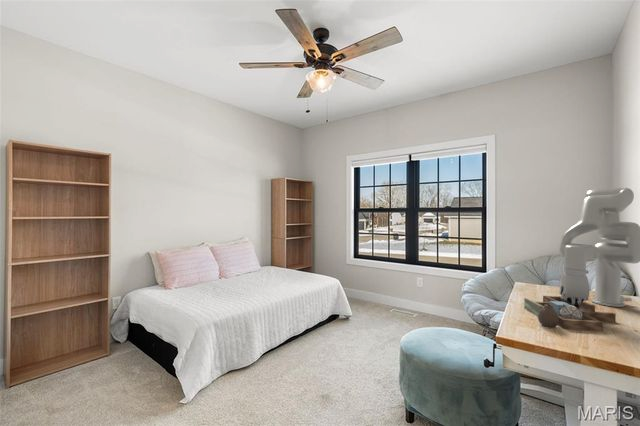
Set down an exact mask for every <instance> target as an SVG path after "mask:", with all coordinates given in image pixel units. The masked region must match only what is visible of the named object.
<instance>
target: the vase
mask: <svg viewBox="0 0 640 426" xmlns="http://www.w3.org/2000/svg"><path fill="white" fill-rule="evenodd" d="M537 319H538V322H539V324H540V325H541V326H543V327H545V328H547V329H548V328H549V329H553V328H556V327H557V326H558V323H559V316H558V313H557V312H556V311H555V309H554V308H553V306H552V305H550V304H545V305H544V306H543V307H542V308H541V309H540V310H539V312H538V316H537Z"/></svg>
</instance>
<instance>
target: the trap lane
mask: <svg viewBox="0 0 640 426" xmlns="http://www.w3.org/2000/svg"><path fill="white" fill-rule="evenodd" d="M550 301H558V302H565V303H568V304H570V303H569V302H568V301H567V300H564V299H562V298H561V295H560V296H559V295H542V301H534V300H532V299H530V298H528V297H524V307H523V308H524V309H525V310H526V311H528V312H530V313H532V314H533V315H535V316H536V317H538V312H539V310H540V309H541V308H542V307H543V306H544V305H545V304H549V303H550ZM579 307H580V308H579V310H580V311H581V312H584V314H583V313H582V319H584V320H575V319H564V318H563V317H561V316H559V315H558V316H559V323H558V325H557V326H558V327H560V328H561V329H563V330H578V331H591V332H592V331H594V332H595V331H597V332H604V322H609V323H610V322H611V323H616V321H617V320H616V319H617V318H616V315H617V314H616V312H615V313H614V312H607V311H596V304H592V303H589V302H587V301H583V302H582V303H581V305H579Z"/></svg>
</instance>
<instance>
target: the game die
mask: <svg viewBox="0 0 640 426" xmlns="http://www.w3.org/2000/svg"><path fill="white" fill-rule="evenodd" d="M563 306H564V307H563V308H561V309H560V308H559V309H560V315H559V316H561V317H563V318H564V319H575V320H584V319H582V313H583V314H584V312H581V311H580V310H579V309H578V308H580V307H578V308H577V307H575V306H573V305H572V303H571V305H567V306H565V305H564V304H563Z"/></svg>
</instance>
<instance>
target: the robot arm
mask: <svg viewBox="0 0 640 426" xmlns="http://www.w3.org/2000/svg"><path fill="white" fill-rule="evenodd" d="M634 197H635V194H634V191H633V190H632V189H631V188H629V187H614V188H613V187H612V188H611V187H610V188H593V189H590V190H587V192H586V193H585V198H584V199H583V201H582V204H581V208H580V212H579V216H578V221H577V222H576V224H574V225H572V226H571V227H569V228H568V229H567V230H566V231H565V233H564V234H563V235H562V236H561V240H560V244H559V249H558V250H559V251H558V252H559V255H560V256H561V257H562V258H563V259H564V260H563V261H564V263H563V266H564V267H563V270H564V271H563V274H561V277H560V281H559V287H558V288H559V289H558V293H559V295H560V296H561V298H562V299H564V300H567V301H568V302H569V303H570V305H571V303H572V305H573V306H575V307H577V308H578V307H579V305H581V303H582V302H583V301H584V302H587V301H589V300H590V301H591V302H592V303H595V304H597V305H600V306H607V307H614V308H615V307H616V308H622V307H623V308H624V307H625V306H626V304H625V302H630V303H631V302H632V300H633V299H632V297H625V296H622V294H621V293H622V291H621V290H622V287H621V286H622V285H621V284H622V271H621V268H620V266H619V265H617V263H623V264H635V265H636V264H638V263H640V225H639V224H638V223H637V222H631V221H629V222H628V221H621V220H620V213H621V212H623V211H624V210H625V209H627V208H628V207H629V206H630V205H631V204H632V203H633V201H634ZM594 231H596V233H597V238H598V239H600V240H604V241H602V242H598V243H595V245H593V244H586V243H585V244H583V243H573V242H572V241H574V239H575V238H577V237H579V236H581V235H584V234H587V233H590V232H594ZM605 240H608V241H619V242H626V243H619V242H605ZM587 262H595V263H594V264H595V266H594V267H595V273H594V275H595V277H594V281H595V286H594V287H595V288H594V291H595V292H594V293H595V294H594V297H591V298H590V282H589V278H588V276H587V274H589V272H590V271H589V270H587ZM589 298H590V299H589ZM578 309H579V308H578Z"/></svg>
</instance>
